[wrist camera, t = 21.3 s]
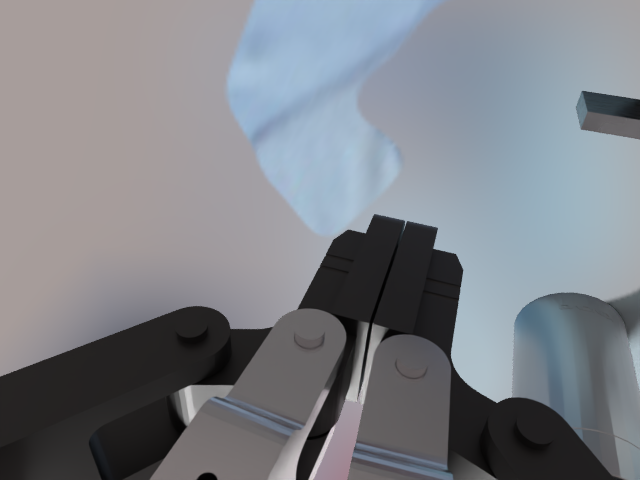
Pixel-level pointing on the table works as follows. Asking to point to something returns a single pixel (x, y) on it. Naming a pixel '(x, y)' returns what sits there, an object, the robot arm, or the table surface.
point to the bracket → (609, 114)
